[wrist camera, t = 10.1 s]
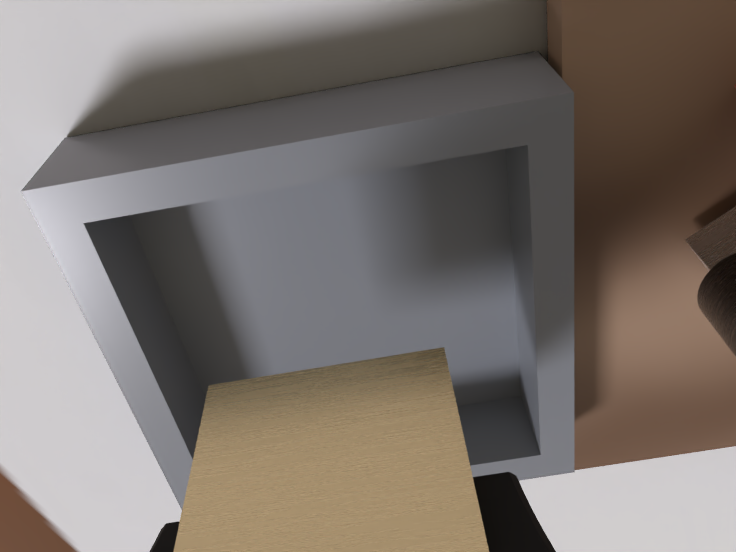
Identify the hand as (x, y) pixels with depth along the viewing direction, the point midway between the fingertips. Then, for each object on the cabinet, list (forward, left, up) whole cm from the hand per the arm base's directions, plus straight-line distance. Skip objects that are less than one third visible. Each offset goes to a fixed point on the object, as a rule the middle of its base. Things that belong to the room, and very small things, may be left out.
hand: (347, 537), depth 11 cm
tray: (0, 0, -7) cm, 7 cm away
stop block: (0, 0, -2) cm, 2 cm away
